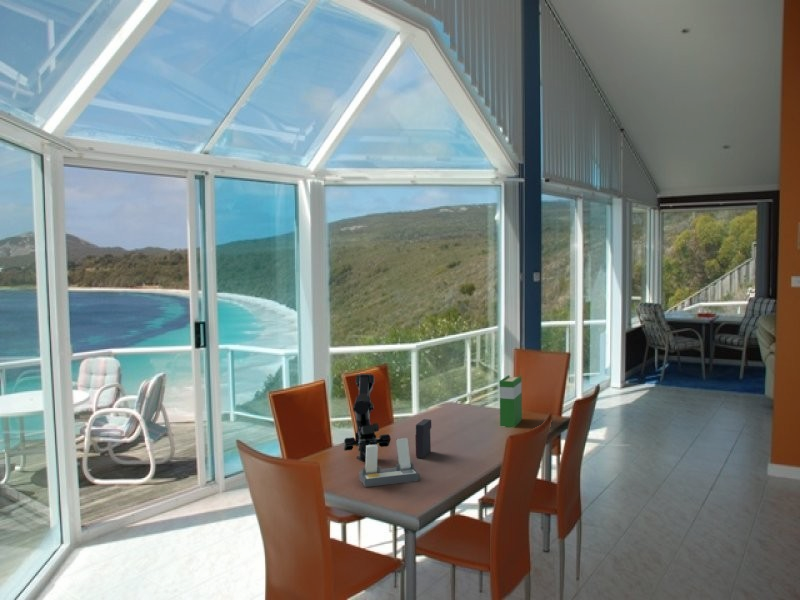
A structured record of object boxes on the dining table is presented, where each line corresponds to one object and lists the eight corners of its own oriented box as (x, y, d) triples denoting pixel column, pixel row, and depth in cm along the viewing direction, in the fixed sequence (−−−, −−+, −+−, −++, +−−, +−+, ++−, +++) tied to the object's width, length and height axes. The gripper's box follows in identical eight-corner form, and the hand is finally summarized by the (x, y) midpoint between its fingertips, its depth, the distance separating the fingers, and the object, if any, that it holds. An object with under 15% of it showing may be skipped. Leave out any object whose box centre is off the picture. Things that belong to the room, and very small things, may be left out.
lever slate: (399, 469, 255) (395, 439, 259) (409, 468, 256) (406, 438, 260) (400, 469, 253) (397, 438, 257) (411, 468, 255) (407, 437, 258)
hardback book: (508, 418, 346) (507, 375, 345) (521, 419, 344) (521, 376, 342) (500, 426, 330) (499, 381, 329) (514, 427, 327) (513, 381, 326)
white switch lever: (365, 471, 252) (366, 445, 248) (375, 470, 253) (376, 444, 249) (366, 474, 250) (367, 447, 246) (376, 473, 251) (378, 446, 248)
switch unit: (359, 478, 255) (359, 465, 254) (411, 472, 260) (411, 459, 260) (364, 487, 245) (364, 473, 245) (419, 480, 251) (418, 467, 250)
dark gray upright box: (423, 450, 291) (422, 418, 290) (432, 451, 289) (431, 419, 288) (414, 457, 280) (414, 424, 279) (424, 458, 279) (423, 425, 278)
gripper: (343, 418, 253) (349, 453, 243) (389, 414, 258) (396, 448, 248) (341, 432, 261) (346, 467, 251) (384, 428, 266) (392, 462, 256)
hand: (370, 461), depth 251 cm, fingers closed
